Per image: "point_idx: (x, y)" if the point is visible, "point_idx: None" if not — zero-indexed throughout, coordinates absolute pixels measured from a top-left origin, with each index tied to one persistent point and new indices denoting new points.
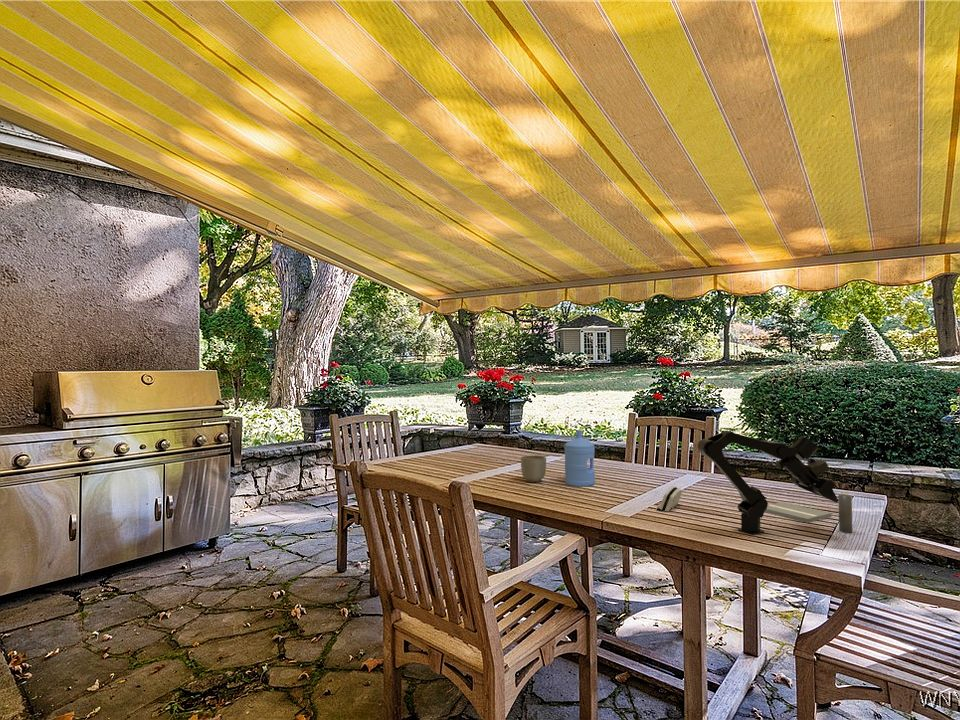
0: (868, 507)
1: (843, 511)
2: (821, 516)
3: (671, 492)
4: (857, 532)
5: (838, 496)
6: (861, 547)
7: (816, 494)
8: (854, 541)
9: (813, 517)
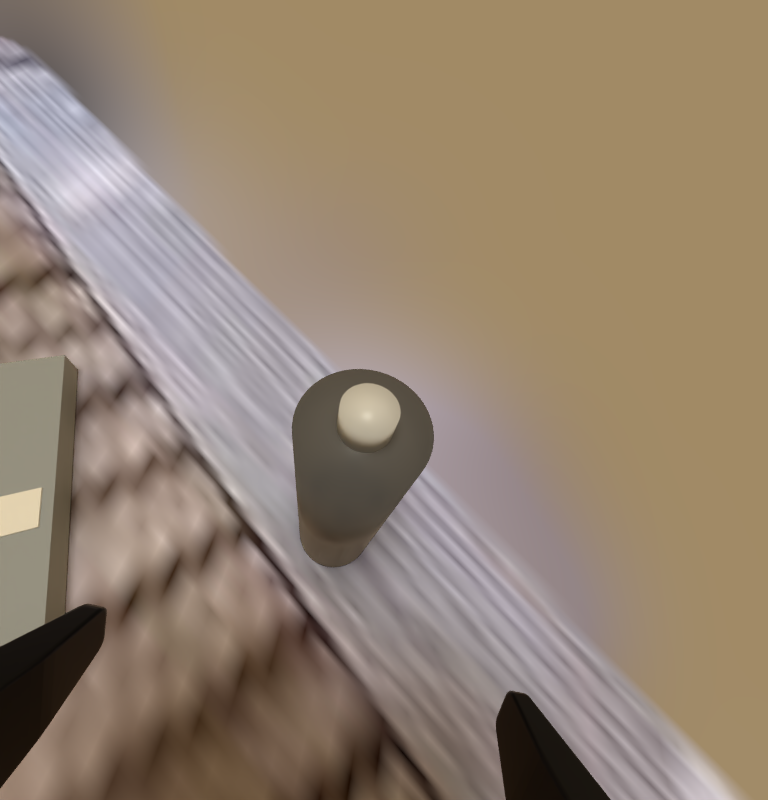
0: (87, 147)
1: (372, 531)
2: (61, 454)
3: None
4: None
5: (323, 489)
6: (626, 713)
7: (24, 749)
8: (515, 652)
9: (50, 554)
